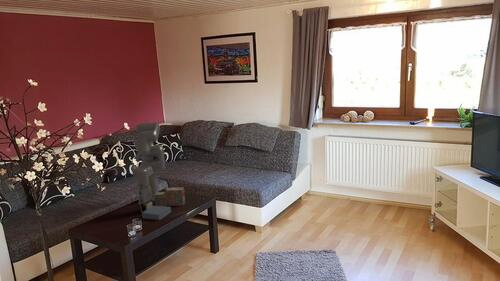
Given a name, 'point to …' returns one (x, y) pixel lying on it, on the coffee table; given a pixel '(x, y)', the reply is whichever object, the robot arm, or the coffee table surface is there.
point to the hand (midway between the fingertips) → (146, 209)
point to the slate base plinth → (156, 212)
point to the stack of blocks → (170, 197)
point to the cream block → (147, 205)
